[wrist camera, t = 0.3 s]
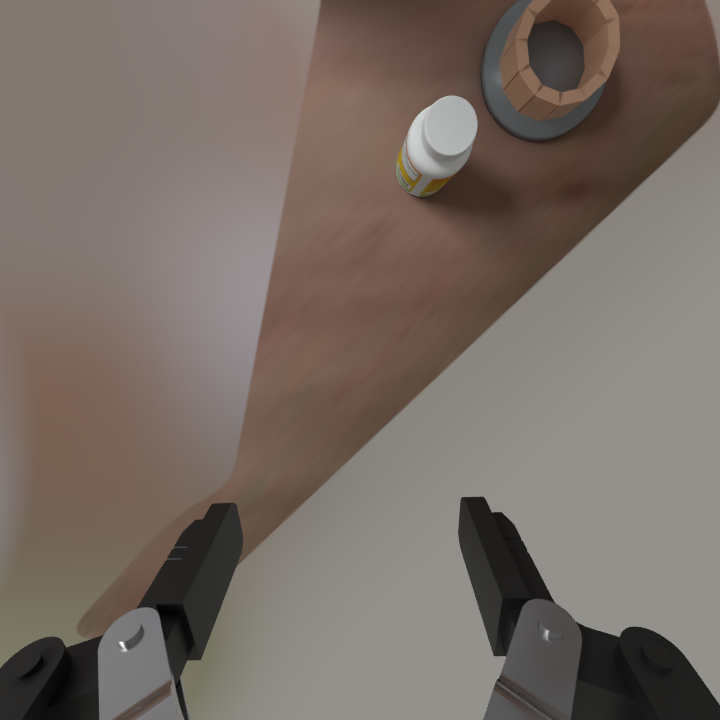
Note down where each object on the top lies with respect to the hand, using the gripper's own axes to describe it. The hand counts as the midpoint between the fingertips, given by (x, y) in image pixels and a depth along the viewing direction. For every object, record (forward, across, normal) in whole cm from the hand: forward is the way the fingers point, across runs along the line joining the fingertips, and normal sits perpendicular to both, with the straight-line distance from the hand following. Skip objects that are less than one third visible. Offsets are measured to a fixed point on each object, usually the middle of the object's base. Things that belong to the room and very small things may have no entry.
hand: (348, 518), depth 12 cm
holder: (+31, -19, -23) cm, 43 cm away
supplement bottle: (+30, -7, -15) cm, 34 cm away
